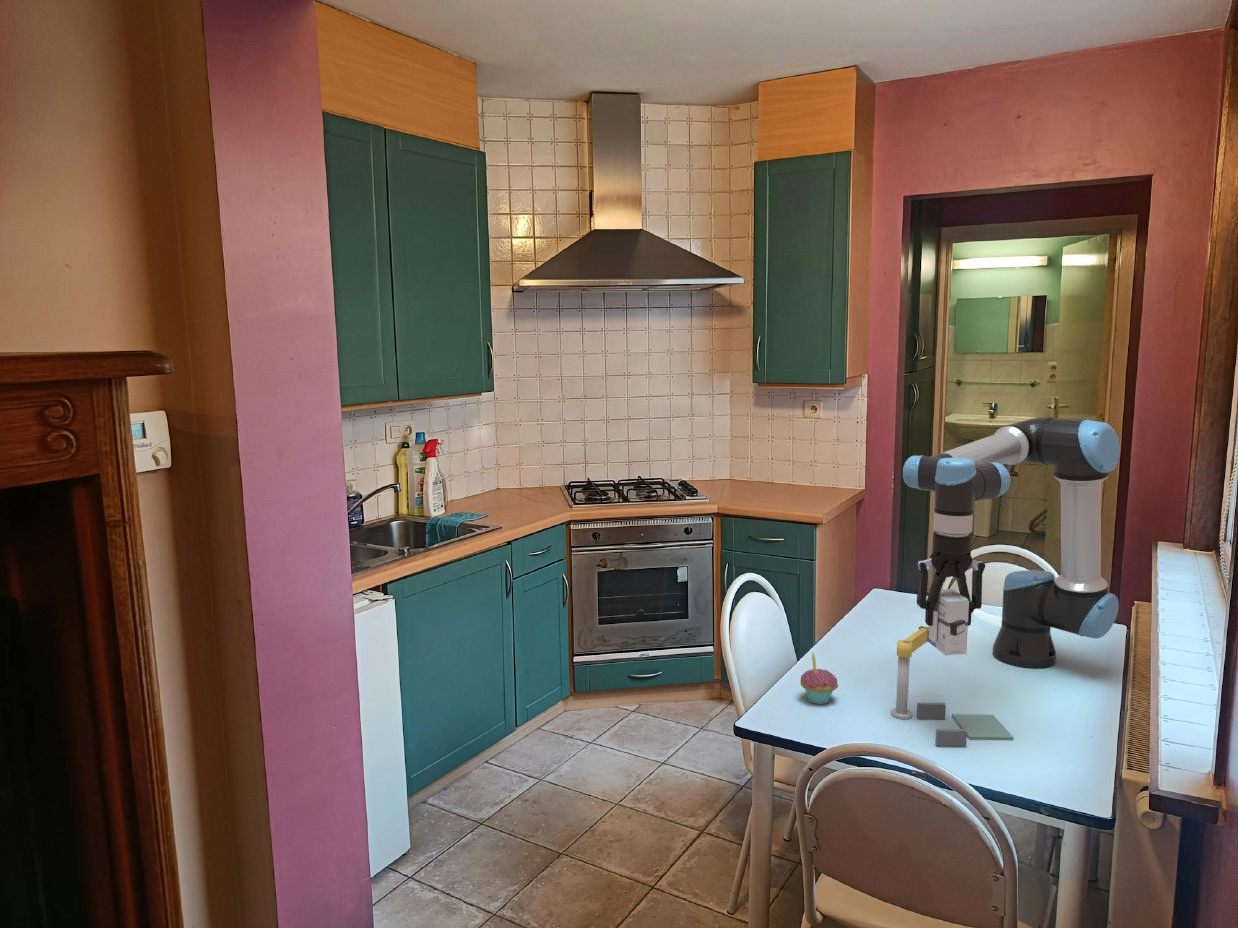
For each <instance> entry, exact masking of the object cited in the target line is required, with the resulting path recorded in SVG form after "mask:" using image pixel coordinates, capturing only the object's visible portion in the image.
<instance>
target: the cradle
mask: <svg viewBox="0 0 1238 928" xmlns="http://www.w3.org/2000/svg"><path fill="white" fill-rule="evenodd" d="M897 658H898V659H897V676H896V677H897V678H896V679H897V680H896V681H897V682H896V699H895V701H896V703H895V705H896V706H895V707H894V708H892V709H891V710H890V715H891V716H892V718H895V719H897V720H910V719H912V717H913V716H912V715H913V713H912V711H911V710H910V709H908V705H909V704H908V702H909V682H910V681H909V680H910V661H911V660H910V658H911V657H909V658H903V657H899V656H897ZM946 708H947V705H946V703H945V702H919V701H918V702H916V714H915V715H916V716H915V717H916V719H917V720H933V721H934V720H940V721H941V720H943V721H944V720H946ZM934 738H935V739H934V741H935V742H934V745H935V746H936V748H967V738H968V737H967V731H966V729H961V728H935V737H934Z"/></svg>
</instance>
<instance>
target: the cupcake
mask: <svg viewBox="0 0 1238 928" xmlns="http://www.w3.org/2000/svg"><path fill="white" fill-rule="evenodd" d="M811 659H812V667H813V668H812V669H809V670H807V671H804V673H802V674H801V677H800V686H801V687H802V688H803V689H804V691H805V692H806V696H807V700H808V702H811V703H813V704H816V705H817V704H818V705H823V704H828V703H829V702H830V699H831V696H832V695H833V694H832V693H833V691H836V689H838V687H839V684H838V679H837V676H835V675H834V674H833V673H832V672H830V671H829V670H827V669H822V668H817V663H816V661H817V660H816V655H815V654H814V652H812V655H811Z"/></svg>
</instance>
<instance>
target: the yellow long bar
mask: <svg viewBox="0 0 1238 928" xmlns="http://www.w3.org/2000/svg"><path fill="white" fill-rule="evenodd" d="M928 627H929V626H923V625H920V626H918V630H916V631H914V633H912V634H911V635H909V636H908V637H907V638H905V639H900V640H897V641H896V656H897V657H898V656H899V657H903V658H909V657H910V658H911V657H912V655H913V653H914V652H916V651H917V650H919V648H921V647H922V646H924V645H925V644H926V643H927V642H928ZM928 643H929V642H928Z"/></svg>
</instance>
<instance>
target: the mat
mask: <svg viewBox="0 0 1238 928" xmlns="http://www.w3.org/2000/svg"><path fill="white" fill-rule="evenodd" d="M951 718H952V719H953V720H954V721H955V723H956V724H957V725H958V727H959V729H966V731H967V738H968V739H969V740H971V741H972V740H975V741H977V740H981V741H983V740H984V741H985V740H986V741H988V740H989V741H990V740H991V741H992V740H993V741H1014V736H1013V735H1012V734H1011V733H1010V731H1008V729H1006V728H1005V726H1004V725H1003V724H1002V723H1001V722H1000V721H999V720H998V718H997V717H995V715H994V714H969V713H968V714H965V713H963V714H961V713H959V714H958V713H957V714H955V713H953V714H951Z"/></svg>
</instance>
